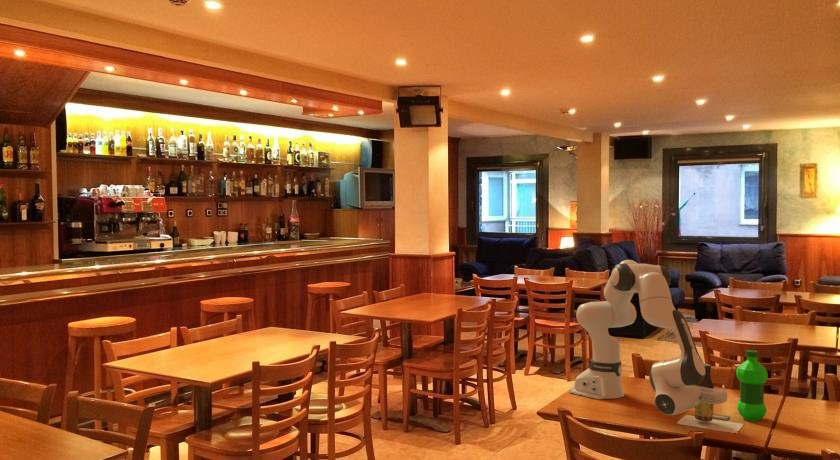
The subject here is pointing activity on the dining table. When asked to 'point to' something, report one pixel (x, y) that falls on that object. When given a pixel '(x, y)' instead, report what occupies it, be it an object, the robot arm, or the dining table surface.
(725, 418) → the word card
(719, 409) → the dining table surface
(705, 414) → the sauce bottle
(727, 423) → the paper
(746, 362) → the plastic bottle
